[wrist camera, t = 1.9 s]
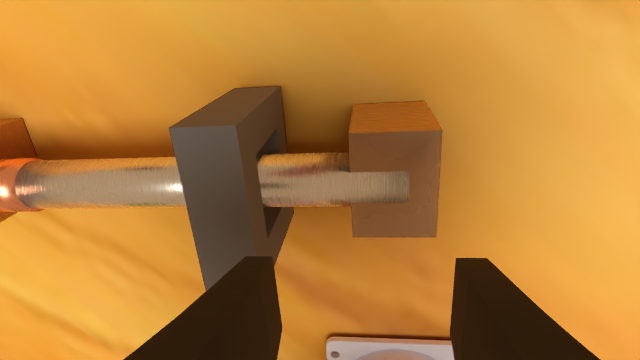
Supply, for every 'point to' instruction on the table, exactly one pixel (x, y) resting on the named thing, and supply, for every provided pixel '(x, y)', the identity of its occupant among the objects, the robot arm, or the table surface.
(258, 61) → the table surface
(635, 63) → the table surface
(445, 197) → the table surface
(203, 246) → the collar
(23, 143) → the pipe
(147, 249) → the table surface
